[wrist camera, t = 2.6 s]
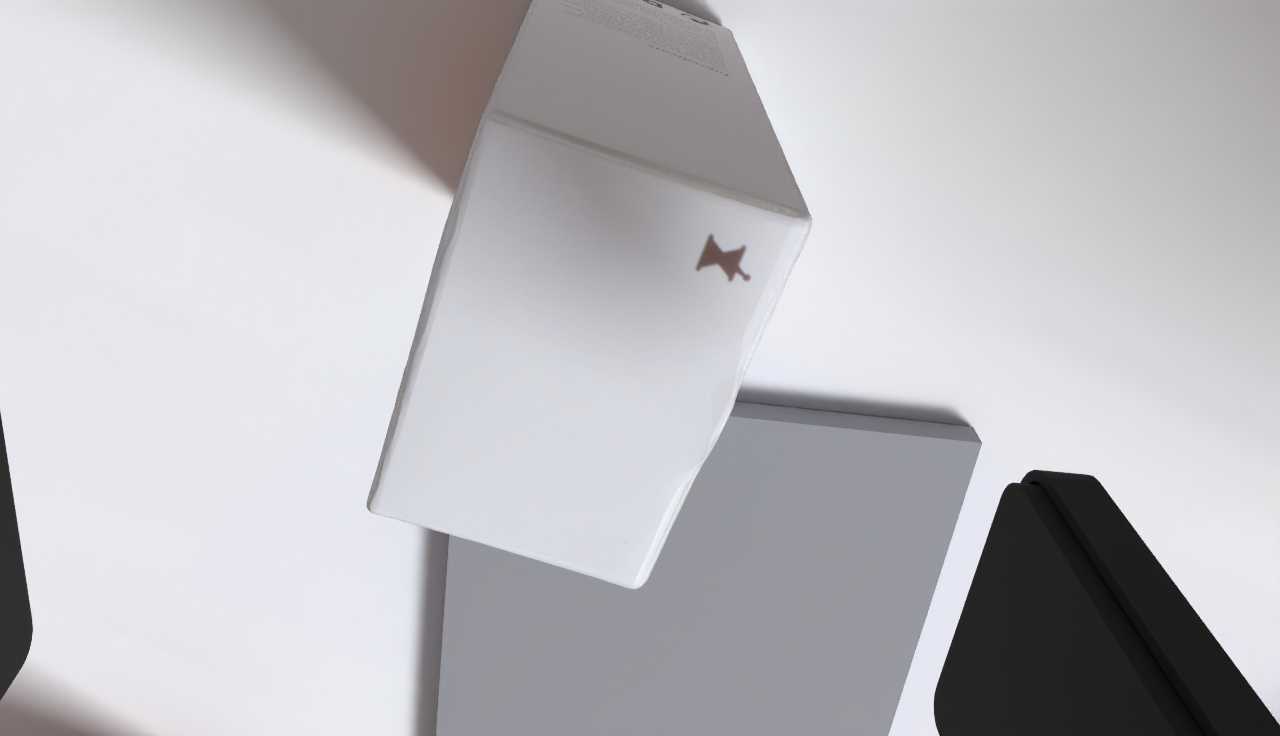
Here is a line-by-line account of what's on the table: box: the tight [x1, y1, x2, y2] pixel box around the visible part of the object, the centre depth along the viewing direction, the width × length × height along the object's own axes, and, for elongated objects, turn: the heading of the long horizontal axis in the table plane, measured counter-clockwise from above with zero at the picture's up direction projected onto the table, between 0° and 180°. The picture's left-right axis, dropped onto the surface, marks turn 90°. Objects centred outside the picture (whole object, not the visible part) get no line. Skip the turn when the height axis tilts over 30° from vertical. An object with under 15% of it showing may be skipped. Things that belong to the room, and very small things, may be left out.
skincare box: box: [367, 0, 812, 589], centre depth 19 cm, size 6×4×12 cm
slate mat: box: [436, 401, 982, 736], centre depth 30 cm, size 13×13×1 cm
